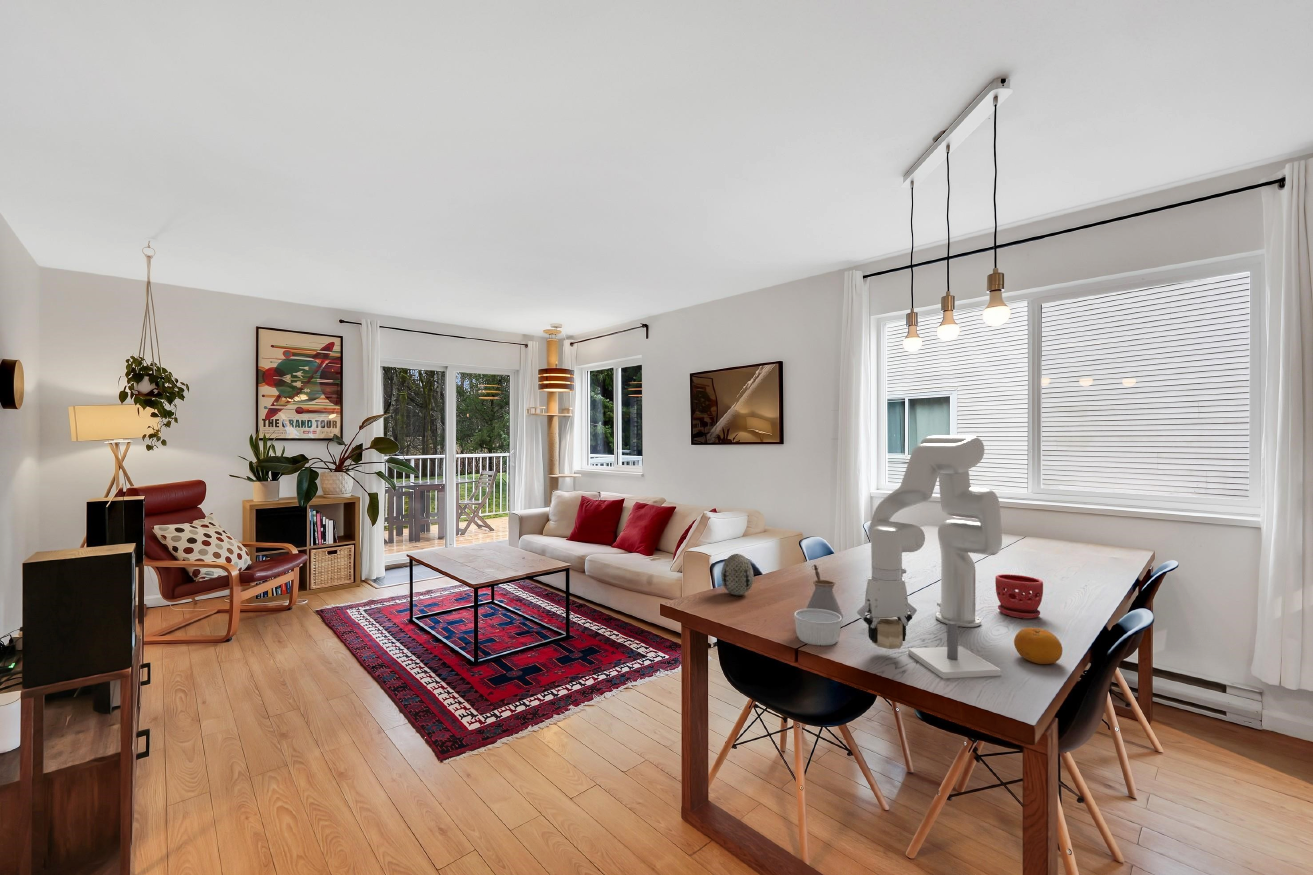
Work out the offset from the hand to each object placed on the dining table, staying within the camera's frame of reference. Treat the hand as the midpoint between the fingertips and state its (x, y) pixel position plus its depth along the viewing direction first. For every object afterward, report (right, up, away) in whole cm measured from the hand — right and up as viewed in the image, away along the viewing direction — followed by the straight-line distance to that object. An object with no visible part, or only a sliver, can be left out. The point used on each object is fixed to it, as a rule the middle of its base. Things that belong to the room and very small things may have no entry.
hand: (887, 639), depth 148 cm
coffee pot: (-9, -4, +30) cm, 32 cm away
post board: (+14, -4, -6) cm, 16 cm away
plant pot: (+57, -4, +34) cm, 67 cm away
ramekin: (-15, -4, +12) cm, 20 cm away
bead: (0, -1, 0) cm, 1 cm away
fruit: (+38, -4, -3) cm, 38 cm away
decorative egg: (-32, -4, +56) cm, 65 cm away
